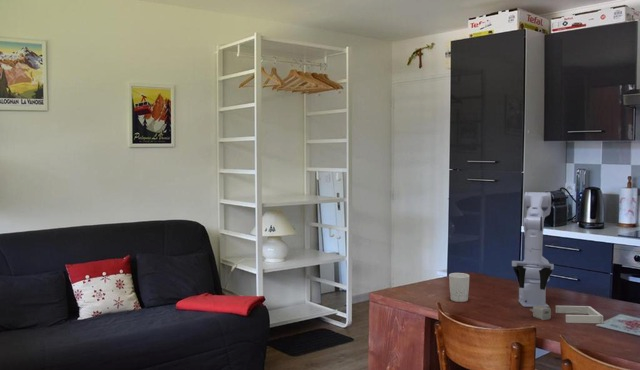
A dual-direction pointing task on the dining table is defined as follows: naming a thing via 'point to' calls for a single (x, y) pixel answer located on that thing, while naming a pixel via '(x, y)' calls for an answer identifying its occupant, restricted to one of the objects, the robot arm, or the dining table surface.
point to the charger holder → (591, 318)
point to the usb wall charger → (541, 312)
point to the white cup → (459, 286)
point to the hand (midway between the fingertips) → (532, 288)
